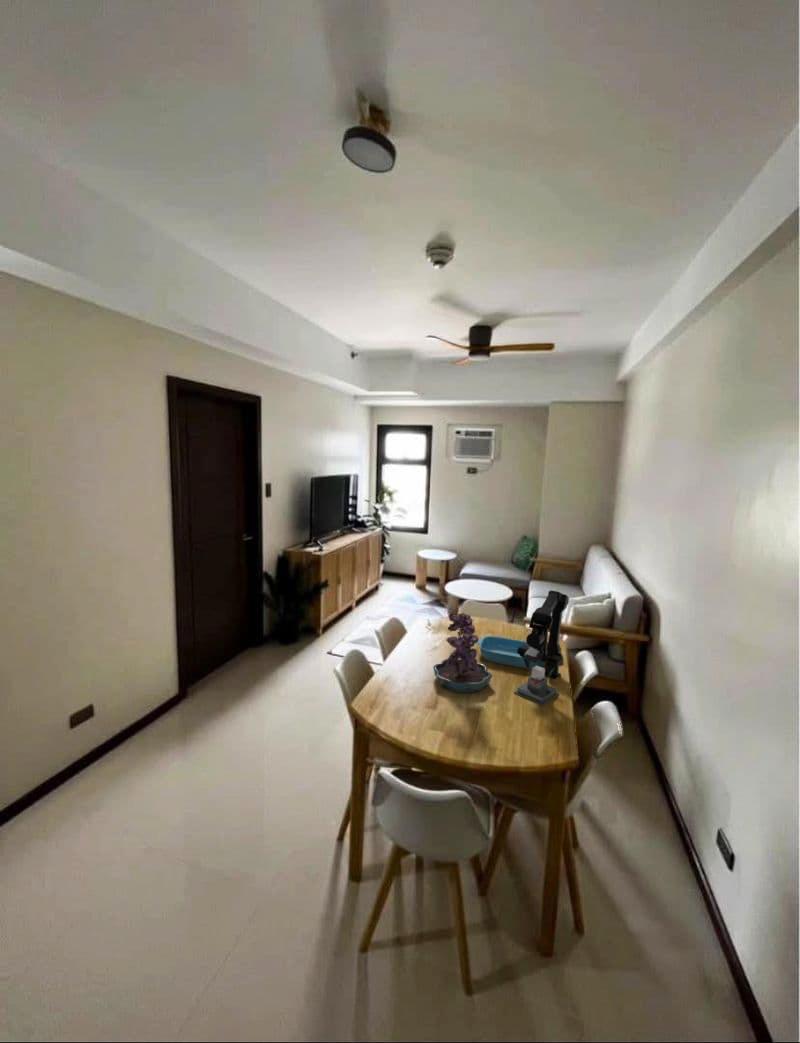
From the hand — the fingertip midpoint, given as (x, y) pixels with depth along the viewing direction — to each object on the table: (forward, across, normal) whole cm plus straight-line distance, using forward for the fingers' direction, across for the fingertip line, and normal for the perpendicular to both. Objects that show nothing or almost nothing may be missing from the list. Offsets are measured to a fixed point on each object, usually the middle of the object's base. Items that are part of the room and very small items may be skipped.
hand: (538, 674), depth 188 cm
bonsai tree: (+9, -27, -19) cm, 34 cm away
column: (+9, 0, 0) cm, 9 cm away
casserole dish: (+10, -26, +23) cm, 36 cm away
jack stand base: (+9, 0, 0) cm, 9 cm away
